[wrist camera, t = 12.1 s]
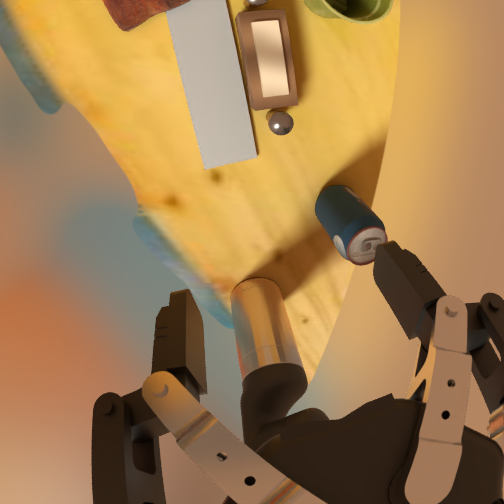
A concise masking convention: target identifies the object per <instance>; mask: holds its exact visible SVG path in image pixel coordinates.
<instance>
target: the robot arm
mask: <svg viewBox="0 0 504 504" xmlns="http://www.w3.org/2000/svg"><path fill="white" fill-rule="evenodd" d="M373 276H374V280H375V282H376V284H377V286H378V288H379V289H380V291H381V293H382V294H383V296H384V297H385V299H386V301H387V302H388V304H389V305H390V307H391V309H392V311H393V312H394V314H395V316H396V318H397V319H398V321H399V323H400V324H401V326H402V328H403V330H404V331H405V333H406V335H407V337H408V339H409V340H410V339H413V338H415V337H418V338H419V339H420V342H419V345H418V351H417V357H416V362H415V367H414V371H413V376H412V380H411V383H410V386H409V388H408V391H407V393H406V396H405V399H394V397H393V395H392V393H391V394H388V395H386V396H383V397H381V398H378V399H375V400H373V401H370V402H368V403H366V404H364V405H362V406H361V407H359V408H358V409H356V410H355V411H353V412H351V413H350V414H348V415H347V416H345V417H343V418H341V419H338V420H329V418H328V417H327V416H326V415H325V413H324V412H322V411H321V410H319V409H317V408H309V409H305V410H302V411H300V412H297V413H294V414H292V415H289V416H287V417H286V415H287V413H288V411H289V410H290V408H291V407H292V406H293V404H295V402H297V401H298V400H299V399H300V397H302V395H303V394H304V393H305V391H306V389H307V386H308V382H307V377H306V374H305V371H304V368H303V365H302V361H301V358H300V355H299V352H298V348H297V345H296V341H295V338H294V335H293V331H292V328H291V325H290V321H289V318H288V315H287V312H286V308H285V305H284V301H283V298H282V295H281V292H280V289H279V287H278V285H277V284H276V283H275V282H273V281H271V280H269V279H265V278H254V279H249V280H246V281H244V282H242V283H240V284H239V285H237V286H236V287H235V288H234V290H233V291H232V293H231V297H230V299H231V308H232V316H233V324H234V331H235V338H236V346H237V353H238V359H239V366H240V373H241V379H242V386H243V393H242V397H241V415H242V425H243V426H242V427H243V437H244V443H243V442H242V441H241V440H240V439H239V438H237V437H236V436H235V435H234V434H233V433H232V432H230V431H229V430H228V429H227V428H226V427H225V426H224V425H223V424H222V423H221V422H220V421H218V420H217V419H216V418H215V417H214V416H213V415H212V414H211V413H210V412H208V411H207V410H206V409H205V408H204V407H203V406H202V405H201V404H200V397H199V395H203V394H207V382H206V367H205V349H204V330H203V321H202V316H201V314H200V311H199V309H198V307H197V305H196V303H195V301H194V298H193V297H192V294H191V292H190V290H189V289H185V290H180V291H175V292H171V294H170V302H169V306H166V307H162V308H161V310H160V312H159V313H158V316H157V317H156V324H155V334H154V338H155V339H154V346H153V359H152V360H153V361H152V371H151V375H150V376H149V377H148V378H147V379H146V380H145V381H144V383H143V386H142V388H140V389H138V390H137V391H134V392H132V393H129V394H127V395H125V396H122V397H120V396H119V395H118V394H116V393H112V392H108V393H105V394H103V395H101V396H100V397H99V398H98V399H97V400H96V402H95V404H94V408H93V421H92V422H93V423H92V490H93V504H166V499H165V492H164V485H163V477H162V468H161V459H160V448H159V436H161V435H164V434H166V433H169V432H171V433H172V435H173V436H174V437H175V438H176V440H177V441H176V442H177V444H178V445H179V446H180V448H181V449H182V450H183V451H184V452H185V453H186V454H187V455H188V457H189V458H190V459H191V460H192V461H193V462H194V463H195V464H196V465H197V466H198V467H199V468H200V469H201V470H202V471H203V472H204V473H205V474H206V475H207V476H208V477H209V478H210V479H211V480H212V481H213V482H214V483H215V484H216V485H217V486H219V487H220V488H221V489H222V490H223V491H224V492H225V493H226V494H227V495H228V496H227V497H226V499H225V500H224V502H223V504H504V500H503V494H502V493H503V492H502V487H503V475H504V300H503V299H502V298H501V297H500V296H499V295H497V294H495V293H486V294H484V295H483V297H482V299H481V301H480V302H479V303H466V304H464V303H463V301H461V300H460V299H459V298H457V297H455V296H451V295H446V293H445V292H444V291H443V290H442V288H441V287H440V285H439V284H438V283H437V281H436V280H435V279H434V278H433V276H432V275H431V274H430V272H429V271H427V269H426V268H425V266H424V265H422V263H421V261H420V260H419V259H418V258H417V257H416V255H414V254H413V253H411V252H409V251H408V250H406V249H404V250H402V249H401V248H400V246H399V245H398V244H397V243H396V242H395V241H389V242H385V243H381V244H378V245H377V247H376V253H375V261H374V269H373ZM490 338H491V339H492V341H493V342H494V344H495V346H496V348H497V350H498V351H499V353H500V356H501V362H500V360H499V358H498V357H497V354H496V353H495V351H494V349H493V347H492V345H491V344H490V342H489V339H490ZM471 371H472V373H473V375H474V377H475V379H476V381H477V384H478V386H479V388H480V390H481V392H482V395H483V397H484V400H485V402H486V404H487V407H488V409H489V412H490V414H491V416H490V419H489V424H488V426H487V432H488V433H489V434H490V438H489V437H487V436H485V435H483V434H481V433H479V432H477V431H475V430H473V429H471V428H469V427H467V426H465V425H464V422H465V417H466V411H467V404H468V397H469V389H470V380H471Z"/></svg>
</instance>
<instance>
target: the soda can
mask: <svg viewBox="0 0 504 504" xmlns="http://www.w3.org/2000/svg"><path fill="white" fill-rule="evenodd" d="M315 213H316V216H317V218H318V220H319V221H320V223H321V224H322V226H323V227H324V229H325V231H326V232H327V234H328V235H329V237H330V238H331V240H332V242H333V243H334V245H335V246H336V248H337V250H338V251H339V253H340V254H341V256H342V257H343V258H345V259H347V260H349V261H351V262H352V263H353V264H355V265H367V264H370V263H372V262H373V261H375V253H376V247H377V245H378V244H381V243H385V242H388V240H387V235H386V233H385V227H384V224H383V222H382V221H381V220H380V219H379V218H378V216H376V214H375V213H374V212H373V211H372V210H371V209H370V208H369V207H368V206H367V205H366V204H365V203H364V202H363V200H362V199H361V198H360V197H359V196H358V195H357V194H356V193H355V192H354V191H353V190H352V189H351V188H349V187H347V186H344V185H334V186H330V187H328V188H326V189H325V190H323V191H322V192H321V193H320V195H319V197H318V199H317V201H316V204H315Z"/></svg>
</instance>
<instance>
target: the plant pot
mask: <svg viewBox="0 0 504 504" xmlns="http://www.w3.org/2000/svg"><path fill="white" fill-rule="evenodd" d="M304 2H305V4H306V6H307V7H308V8H309V9H310V10H311V11H312V12H313V13H315V14H317V15H319V16H321V17H324V18H343V19H345V20H347V21H350V22H353V23H358V24H372V23H376V22H379V21H381V20H382V19H384V18H385V17H386V16H387V15H388V14H389V12H390V10H391V8H392V5H393V0H304Z"/></svg>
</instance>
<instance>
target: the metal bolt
mask: <svg viewBox="0 0 504 504" xmlns="http://www.w3.org/2000/svg"><path fill="white" fill-rule="evenodd" d="M267 1H268V0H244V5H245V6H246V7H247V8H256V7H257V6H258V5H263V4H265V3H266V2H267Z"/></svg>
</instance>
